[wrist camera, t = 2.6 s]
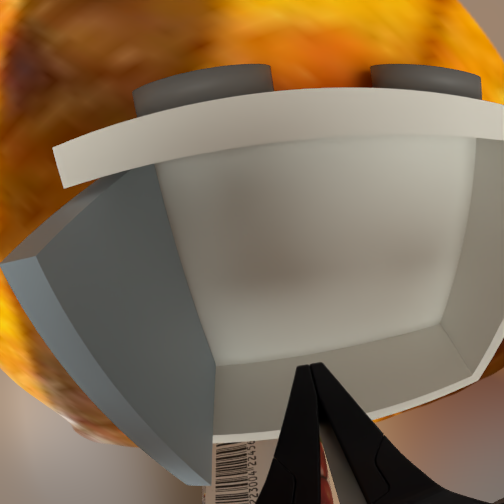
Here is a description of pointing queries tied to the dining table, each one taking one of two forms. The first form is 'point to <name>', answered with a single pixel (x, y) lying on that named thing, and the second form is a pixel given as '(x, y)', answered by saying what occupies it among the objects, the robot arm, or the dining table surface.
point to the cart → (325, 229)
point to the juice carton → (248, 472)
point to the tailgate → (124, 317)
